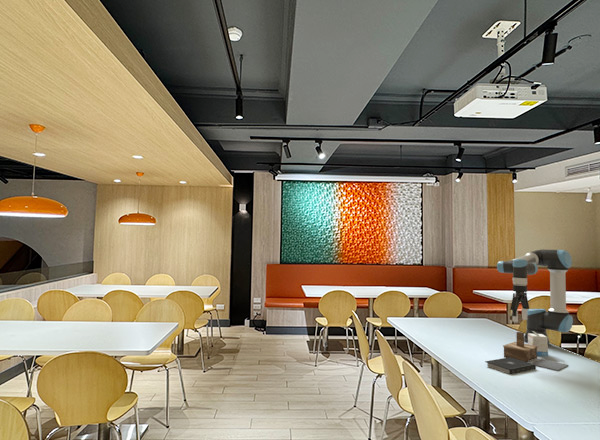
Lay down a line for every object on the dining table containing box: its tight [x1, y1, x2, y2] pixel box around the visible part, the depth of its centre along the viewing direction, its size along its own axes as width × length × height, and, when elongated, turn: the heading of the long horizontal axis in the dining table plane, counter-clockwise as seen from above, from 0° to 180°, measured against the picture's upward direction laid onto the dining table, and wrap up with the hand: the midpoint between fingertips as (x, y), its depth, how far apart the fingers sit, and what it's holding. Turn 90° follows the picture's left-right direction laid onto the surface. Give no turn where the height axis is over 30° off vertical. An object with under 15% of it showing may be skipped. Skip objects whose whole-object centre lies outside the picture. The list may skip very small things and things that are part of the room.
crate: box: [503, 347, 538, 363], centre depth 226 cm, size 16×12×6 cm
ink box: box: [527, 331, 549, 357], centre depth 235 cm, size 9×8×13 cm
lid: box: [502, 331, 538, 352], centre depth 227 cm, size 17×13×10 cm
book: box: [484, 357, 537, 375], centre depth 206 cm, size 22×15×3 cm
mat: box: [532, 358, 569, 372], centre depth 212 cm, size 16×13×1 cm
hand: (519, 320), depth 227 cm, fingers open, 13 cm apart
